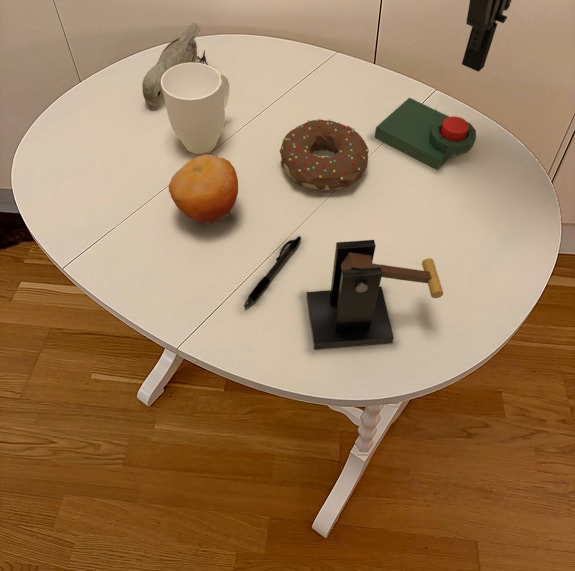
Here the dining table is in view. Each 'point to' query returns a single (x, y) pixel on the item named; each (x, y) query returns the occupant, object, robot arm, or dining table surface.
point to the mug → (196, 104)
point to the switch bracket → (350, 304)
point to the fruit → (205, 188)
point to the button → (454, 128)
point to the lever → (398, 271)
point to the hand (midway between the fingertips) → (472, 65)
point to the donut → (323, 170)
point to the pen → (272, 270)
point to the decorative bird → (171, 63)
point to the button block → (422, 134)
